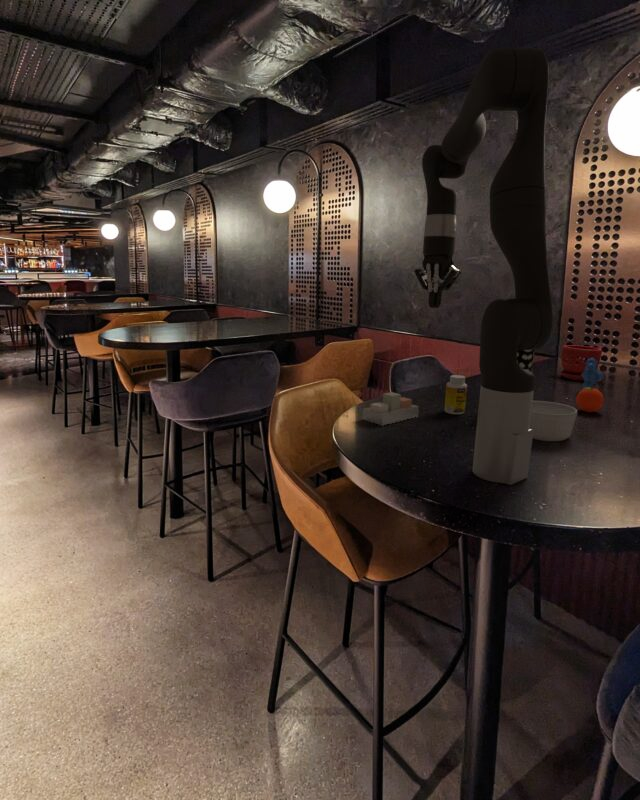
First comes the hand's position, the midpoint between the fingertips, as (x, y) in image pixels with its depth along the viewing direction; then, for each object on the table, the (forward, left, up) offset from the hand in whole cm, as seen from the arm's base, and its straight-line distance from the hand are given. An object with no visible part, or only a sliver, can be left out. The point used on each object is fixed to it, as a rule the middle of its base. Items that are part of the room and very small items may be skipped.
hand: (434, 307), depth 127 cm
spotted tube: (-10, -25, -29) cm, 40 cm away
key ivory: (+5, +13, -28) cm, 32 cm away
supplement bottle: (-1, -11, -29) cm, 31 cm away
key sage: (+5, +8, -26) cm, 28 cm away
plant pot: (0, -90, -29) cm, 95 cm away
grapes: (-14, -67, -29) cm, 74 cm away
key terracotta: (+6, +3, -28) cm, 29 cm away
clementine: (-23, -43, -29) cm, 57 cm away
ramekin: (-26, -12, -29) cm, 41 cm away
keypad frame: (+6, +8, -29) cm, 31 cm away
